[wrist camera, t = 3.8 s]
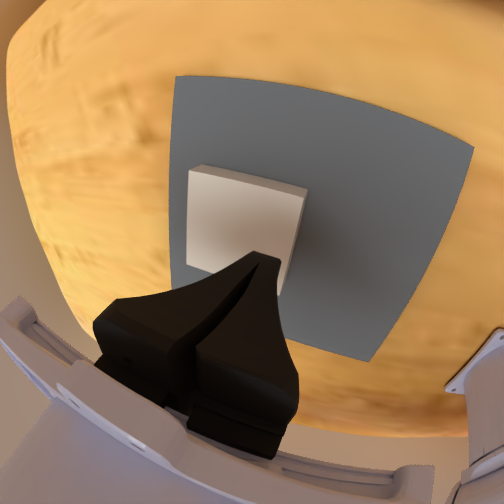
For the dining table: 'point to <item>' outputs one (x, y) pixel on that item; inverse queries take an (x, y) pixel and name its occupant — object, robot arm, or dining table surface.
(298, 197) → the tile
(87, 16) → the dining table surface
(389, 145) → the mat
